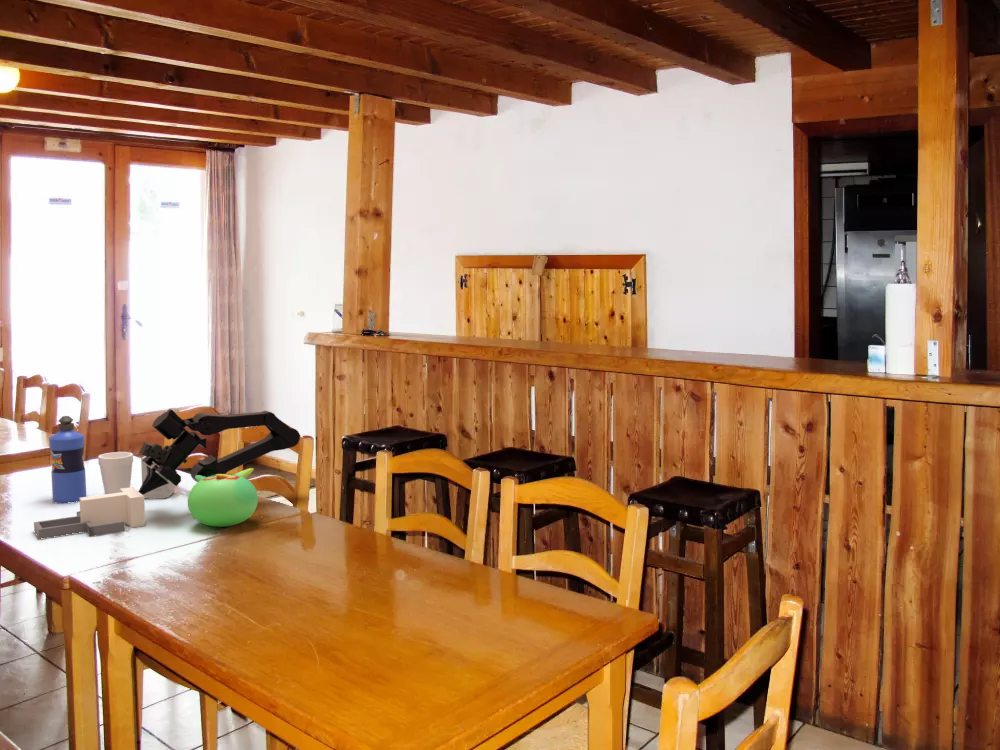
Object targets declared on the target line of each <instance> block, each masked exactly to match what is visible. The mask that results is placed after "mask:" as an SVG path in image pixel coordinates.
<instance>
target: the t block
mask: <svg viewBox="0 0 1000 750" xmlns="http://www.w3.org/2000/svg"><path fill="white" fill-rule="evenodd" d="M138 491H139V490H138V489H136V488H135V487H134V486H133V487H132V486H130V488H122V489H120V493H112V494H105V493H104V494H97V495H91V496H89V495H88V496H86V497H81V498H79V499H80V501H79V512H80V520H81V522H88V521H89V522H90V523H91V524H92V525H100V524H106V523H113V522H120V521H124V522H125V525H126V524H127V525H128V526H129V527H130V528H137V527H141V526H142V527H143V526H146V511H145V509H146V508H145V507H146V506H145V498H144V496H143V495H142V494H141V493H140V492H138Z"/></svg>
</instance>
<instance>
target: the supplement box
mask: <svg viewBox="0 0 1000 750" xmlns="http://www.w3.org/2000/svg"><path fill="white" fill-rule="evenodd" d="M145 457H146V456H144V455H143V457H141V458H140V459H141V461H140V463H141V485H142V484H143V482H144V480H145V478H146V476H147V468H146V466H148V465H147V464H146V463H145V462H144V461H142V460H143V459H144V458H145ZM148 467H150V466H148ZM167 482H169V484H165V485H163V486H161V487H158V488H156V489H154V490H152V491H150V492H147V493H145V494H143V496H144V499H154V498H166V499H167V498H168V497H170V496H171V495H173V494H175V493H174V492H176V491H175V489H176V486H175V485H174V484H172V482H170V481H169V480H168V481H167ZM172 493H173V494H172ZM169 495H170V496H169Z"/></svg>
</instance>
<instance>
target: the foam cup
mask: <svg viewBox="0 0 1000 750" xmlns="http://www.w3.org/2000/svg"><path fill="white" fill-rule="evenodd" d="M97 459H98V460H97V461H98V465H99V470H100V475H101V480H102V485H103V486H102V487H103V491H104V494H112V493H120V489H122V488H130V487H131V481H132V471H133V462H134V454H133V453H132V452H129V451H128V452H127V451H116V452H115V451H114V452H107V453H103V454H99V455H98V457H97Z"/></svg>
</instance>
